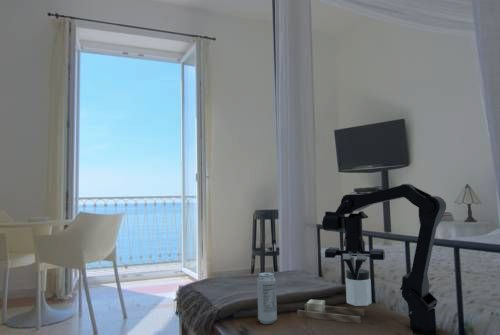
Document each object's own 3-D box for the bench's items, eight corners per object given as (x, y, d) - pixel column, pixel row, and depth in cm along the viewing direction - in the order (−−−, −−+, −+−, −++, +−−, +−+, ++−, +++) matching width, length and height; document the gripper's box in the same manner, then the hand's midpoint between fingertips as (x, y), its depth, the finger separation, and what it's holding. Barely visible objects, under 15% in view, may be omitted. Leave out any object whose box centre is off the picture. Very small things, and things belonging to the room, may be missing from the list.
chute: (364, 316, 126) (364, 309, 126) (360, 325, 118) (359, 317, 118) (305, 310, 134) (305, 303, 135) (297, 318, 126) (297, 310, 126)
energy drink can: (272, 317, 127) (271, 271, 129) (280, 323, 122) (278, 274, 123) (255, 320, 125) (254, 273, 127) (262, 325, 120) (261, 276, 121)
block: (325, 312, 129) (325, 300, 130) (321, 317, 125) (321, 304, 125) (311, 311, 132) (310, 299, 132) (306, 315, 127) (306, 303, 127)
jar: (369, 301, 145) (367, 268, 146) (374, 307, 136) (372, 272, 137) (344, 301, 145) (343, 268, 146) (348, 307, 137) (347, 273, 138)
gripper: (385, 230, 131) (387, 277, 130) (331, 229, 139) (332, 273, 138) (382, 233, 121) (384, 284, 120) (323, 232, 129) (325, 280, 128)
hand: (355, 280), depth 126 cm, fingers closed
